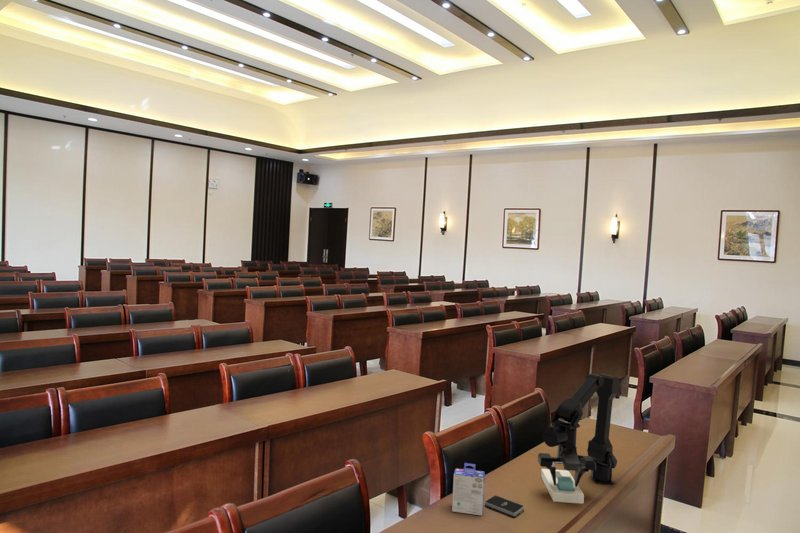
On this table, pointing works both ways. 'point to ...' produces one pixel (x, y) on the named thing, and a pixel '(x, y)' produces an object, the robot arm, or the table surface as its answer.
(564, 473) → the socket plate
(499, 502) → the external hard drive
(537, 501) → the table surface
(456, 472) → the ink cartridge box
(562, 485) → the square peg
